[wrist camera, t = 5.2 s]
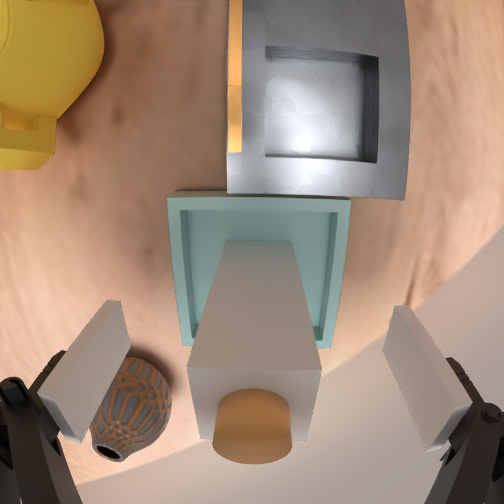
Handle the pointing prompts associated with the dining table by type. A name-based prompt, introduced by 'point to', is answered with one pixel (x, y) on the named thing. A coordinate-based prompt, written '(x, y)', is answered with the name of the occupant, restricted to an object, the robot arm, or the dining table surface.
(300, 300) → the plug
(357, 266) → the dining table surface
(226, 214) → the tray
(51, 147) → the teapot
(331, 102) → the grey socket base
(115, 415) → the vase
